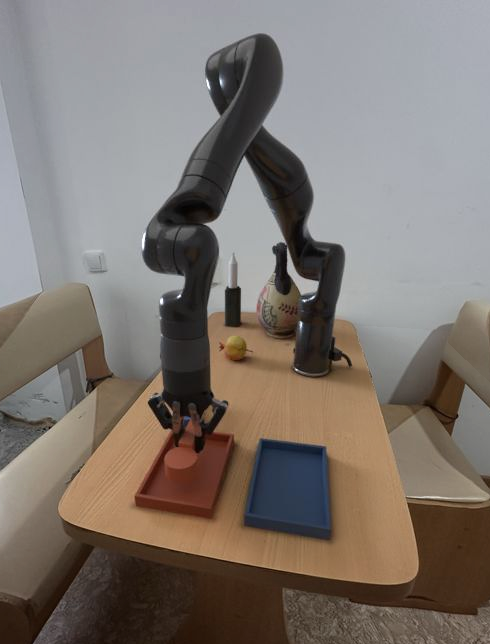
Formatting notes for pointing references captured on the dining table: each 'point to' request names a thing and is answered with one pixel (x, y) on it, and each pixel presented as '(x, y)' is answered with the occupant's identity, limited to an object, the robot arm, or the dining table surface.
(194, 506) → the terracotta tray
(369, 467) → the dining table surface
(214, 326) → the dining table surface
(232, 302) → the candle
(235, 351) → the fruit
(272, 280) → the ceramic jug
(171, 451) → the terracotta scoop
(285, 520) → the blue tray
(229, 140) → the robot arm
